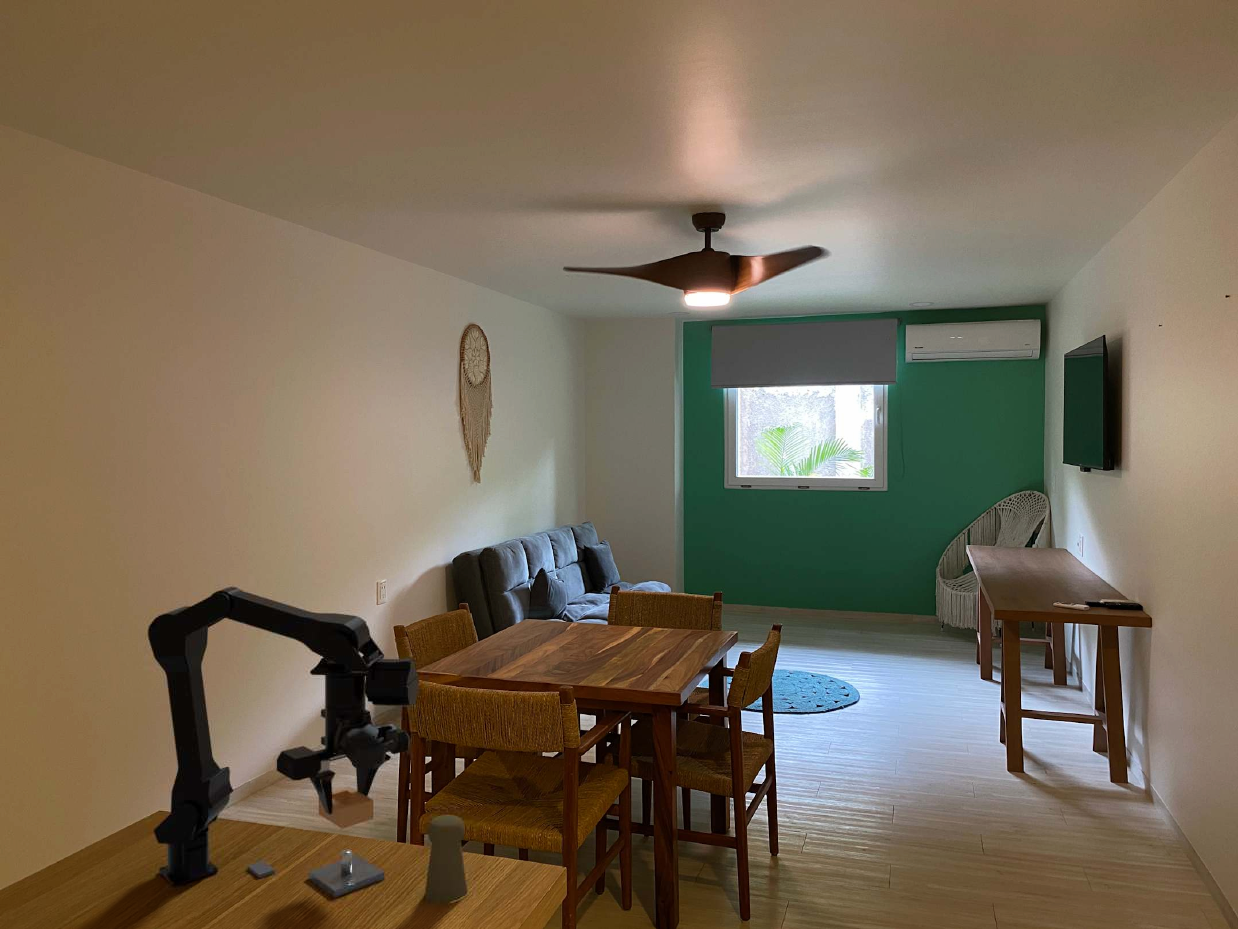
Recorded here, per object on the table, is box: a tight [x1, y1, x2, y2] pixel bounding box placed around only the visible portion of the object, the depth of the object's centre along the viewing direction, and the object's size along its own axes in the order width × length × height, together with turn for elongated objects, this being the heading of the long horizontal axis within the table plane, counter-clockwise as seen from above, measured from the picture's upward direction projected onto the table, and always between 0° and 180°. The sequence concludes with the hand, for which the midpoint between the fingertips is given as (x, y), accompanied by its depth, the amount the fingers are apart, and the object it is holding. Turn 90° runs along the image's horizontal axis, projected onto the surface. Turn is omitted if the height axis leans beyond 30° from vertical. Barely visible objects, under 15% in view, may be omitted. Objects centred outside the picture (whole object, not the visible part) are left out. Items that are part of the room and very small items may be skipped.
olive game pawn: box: [424, 814, 468, 905], centre depth 134 cm, size 6×6×11 cm
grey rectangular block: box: [247, 860, 276, 879], centre depth 141 cm, size 4×2×1 cm, turn 45°
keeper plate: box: [307, 849, 386, 898], centre depth 139 cm, size 8×8×4 cm
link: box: [318, 786, 374, 830], centre depth 138 cm, size 7×5×3 cm
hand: (345, 808), depth 138 cm, fingers closed on link, 5 cm apart
